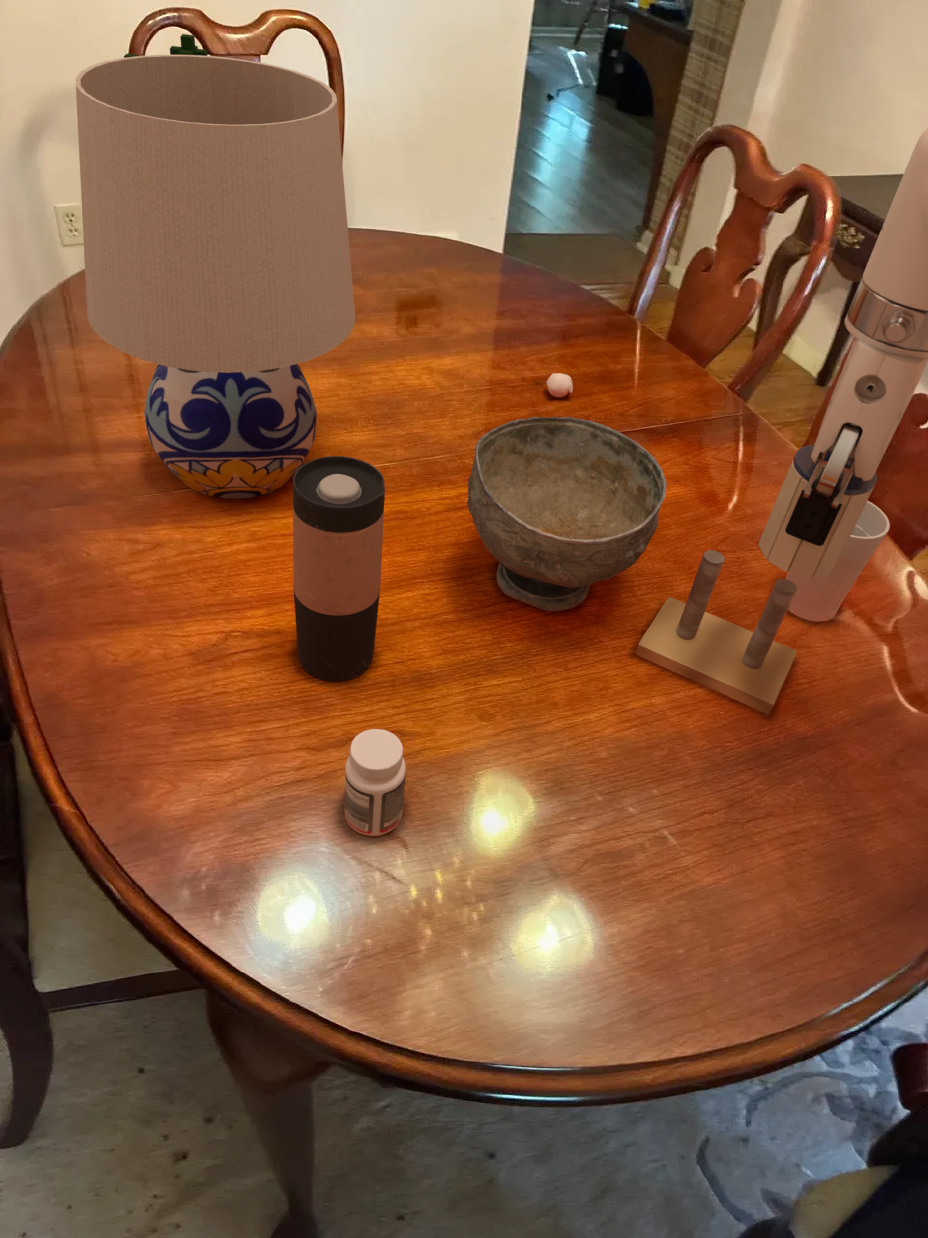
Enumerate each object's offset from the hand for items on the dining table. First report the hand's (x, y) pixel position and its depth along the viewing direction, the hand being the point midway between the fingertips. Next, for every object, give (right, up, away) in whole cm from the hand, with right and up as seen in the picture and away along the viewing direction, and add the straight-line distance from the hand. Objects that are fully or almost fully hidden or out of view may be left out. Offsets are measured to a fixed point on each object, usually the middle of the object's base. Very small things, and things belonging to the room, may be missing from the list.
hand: (815, 514), depth 78 cm
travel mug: (-42, -12, +10) cm, 45 cm away
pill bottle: (-37, -25, -3) cm, 45 cm away
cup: (+8, -7, +24) cm, 26 cm away
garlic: (-17, +23, +52) cm, 60 cm away
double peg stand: (-4, -13, +15) cm, 21 cm away
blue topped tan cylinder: (0, -3, +3) cm, 4 cm away
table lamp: (-57, +9, +31) cm, 66 cm away
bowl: (-21, -5, +21) cm, 30 cm away
